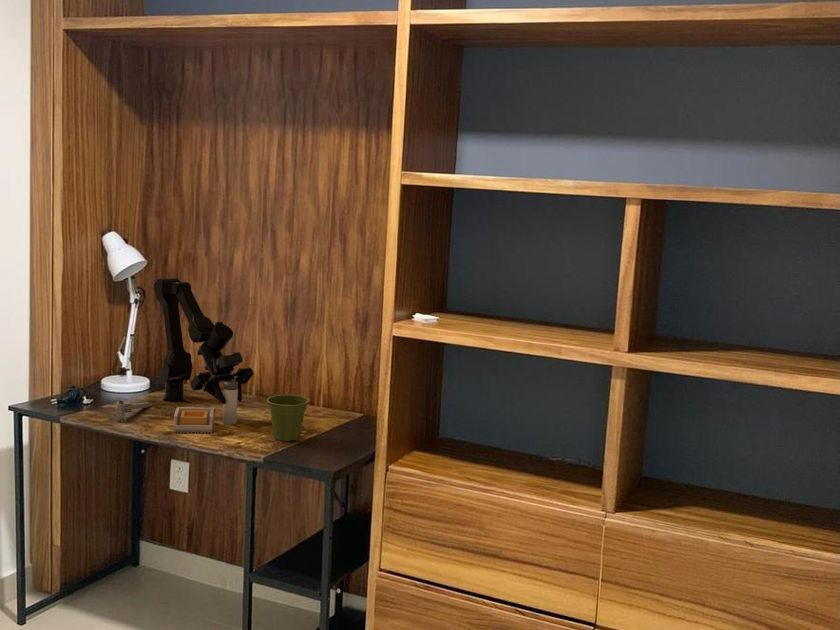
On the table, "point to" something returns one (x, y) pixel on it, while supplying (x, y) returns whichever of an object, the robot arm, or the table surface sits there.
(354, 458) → the table surface
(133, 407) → the caliper
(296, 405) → the plant pot
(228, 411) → the plug
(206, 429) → the socket box
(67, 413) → the table surface
